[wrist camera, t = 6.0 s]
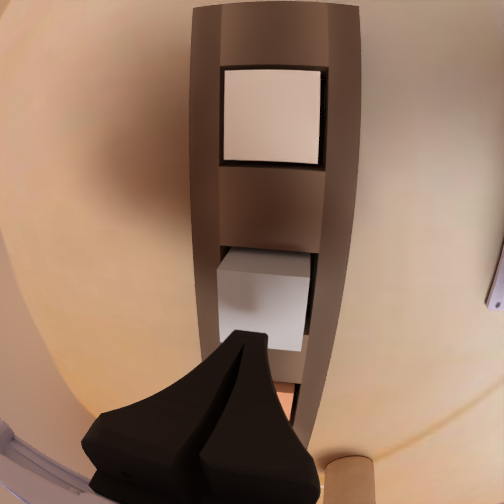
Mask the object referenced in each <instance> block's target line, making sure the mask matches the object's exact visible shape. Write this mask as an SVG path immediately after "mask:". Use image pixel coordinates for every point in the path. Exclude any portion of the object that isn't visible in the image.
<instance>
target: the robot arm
mask: <svg viewBox="0 0 504 504" xmlns="http://www.w3.org/2000/svg"><path fill="white" fill-rule="evenodd" d="M497 302H498V303H497ZM496 303H497V305H496ZM486 306H487V308H488V309H489V310H497V311H504V246H503V250H502V254H501V258H500V261H499V265H498V268H497V272H496V275H495V279H494V282H493V285H492V288H491V291H490V294H489V297H488V300H487V303H486ZM267 352H268V335H267V334H266V333H261V332H252V331H244V330H236V329H235V330H234V331H232V332H231V334H230V335H229V336H228V337H227V338H226V339H225V340H224V341H223V342H222V343H221V344H220V345H219V347H218V348H217V349H216V350H214V351H213V352H212V353H211V354H210V355H209V356H208V357H207V358H206V359H205V360H204V361H203V362H202V363H200V364H199V365H198V366H197V367H196V368H194V369H193V370H192V371H191V372H189V373H188V374H187V375H185V376H184V377H183V378H181V379H180V380H178V381H177V382H175V383H174V384H172V385H170V386H169V387H167V388H165V389H164V390H162V391H160V392H158V393H156V394H154V395H152V396H150V397H148V398H146V399H144V400H141V401H139V402H136V403H134V404H131V405H128V406H126V407H122V408H119V409H116V410H112V411H109V412H105V413H101V414H100V415H99V417H98V418H97V419H96V420H95V421H94V423H93V424H92V426H91V427H90V429H89V430H88V432H87V433H86V435H85V436H84V438H83V439H82V441H81V445H82V448H83V450H84V452H85V453H86V455H87V456H88V457H89V459H90V460H91V462H92V463H93V465H94V466H95V467H96V469H97V471H96V472H95V474H94V476H93V477H92V479H89V478H87V477H85V476H83V475H81V474H79V473H77V472H75V471H73V470H71V469H69V468H68V467H66V466H64V465H62V464H60V463H59V462H57V461H55V460H53V459H52V458H50V457H48V456H46V455H45V454H43V453H42V452H40V451H39V450H37V449H35V448H33V447H32V446H31V445H29V444H27V443H26V442H24V441H23V440H22V439H20V438H19V437H17V436H16V435H15V434H14V432H13V430H12V429H11V428H10V427H9V425H8V424H7V423H6V422H5V421H3V420H2V419H1V418H0V484H1V485H2V486H3V487H4V488H6V489H7V490H8V491H9V492H10V493H12V494H13V495H14V496H15V497H17V498H18V499H19V500H21V501H22V502H23V503H25V504H316V502H317V501H318V499H319V497H320V481H319V477H318V473H317V469H316V466H315V463H314V460H313V458H312V457H311V455H310V454H309V453H308V451H307V450H306V448H305V447H304V446H303V444H302V443H301V441H300V440H299V438H298V436H297V435H296V433H295V431H294V430H293V428H292V426H291V424H290V422H289V420H288V418H287V416H286V414H285V412H284V410H283V408H282V405H281V403H280V400H279V398H278V395H277V392H276V389H275V386H274V383H273V379H272V375H271V371H270V366H269V361H268V353H267Z"/></svg>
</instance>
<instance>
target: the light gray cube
mask: <svg viewBox="0 0 504 504" xmlns="http://www.w3.org/2000/svg"><path fill="white" fill-rule="evenodd" d="M309 282H310V252H297V251H285V250H273V249H260V248H247V247H235V246H232V247H231V249H230V250H229V252H228V253H227V255H226V256H225V258H224V259H223V261H222V262H221V264H220V265H219V267H218V268H217V288H218V312H219V333H220V342H223V341H224V340H225V339H226V338H227V337H228V336H229V335H230V334H231V332H232V331H234V330H235V329H236V330H244V331H252V332H261V333H266V334H267V335H268V348H270V349H279V350H289V351H300V352H301V347H302V340H303V332H304V324H305V316H306V308H307V300H308V291H309Z"/></svg>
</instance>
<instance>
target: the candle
mask: <svg viewBox="0 0 504 504" xmlns="http://www.w3.org/2000/svg"><path fill="white" fill-rule="evenodd" d="M323 504H376V501H375V479H374V466H373V462H372V461H371V460H370V459H369V458H366V457H361V456H351V457H344V458H340V459H337V460H334V461H332V462H331V463H329V464H328V465H327V466H326V470H325V482H324V498H323Z"/></svg>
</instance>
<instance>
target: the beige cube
mask: <svg viewBox="0 0 504 504" xmlns="http://www.w3.org/2000/svg"><path fill="white" fill-rule="evenodd" d="M319 119H320V71H303V70H231V71H225V94H224V160H259V161H282V162H299V163H313V164H318V147H319Z"/></svg>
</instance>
